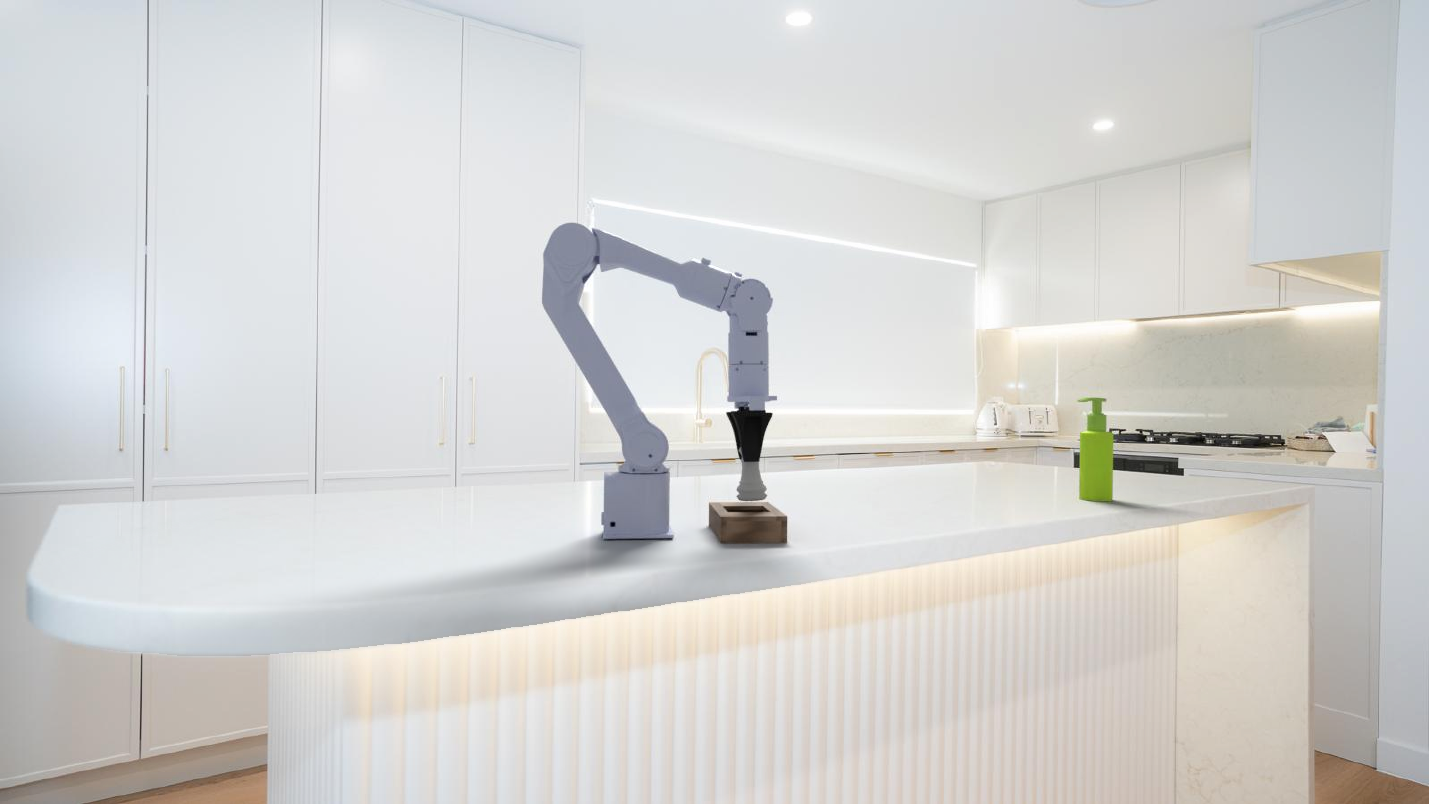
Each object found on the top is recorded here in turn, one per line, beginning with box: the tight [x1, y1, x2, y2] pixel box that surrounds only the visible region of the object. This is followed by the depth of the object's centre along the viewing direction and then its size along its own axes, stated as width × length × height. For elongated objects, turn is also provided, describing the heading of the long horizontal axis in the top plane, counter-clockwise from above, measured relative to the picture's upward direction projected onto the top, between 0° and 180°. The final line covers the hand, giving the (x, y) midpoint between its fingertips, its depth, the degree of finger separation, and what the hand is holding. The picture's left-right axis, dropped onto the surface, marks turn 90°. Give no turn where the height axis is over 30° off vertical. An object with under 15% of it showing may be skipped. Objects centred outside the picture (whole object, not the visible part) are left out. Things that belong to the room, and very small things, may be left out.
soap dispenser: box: [1077, 397, 1114, 502], centre depth 152 cm, size 6×7×20 cm
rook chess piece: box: [735, 447, 768, 502], centre depth 110 cm, size 4×4×8 cm
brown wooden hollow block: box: [708, 501, 788, 544], centre depth 110 cm, size 9×14×4 cm, turn 7°
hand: (749, 460), depth 110 cm, fingers closed on rook chess piece, 3 cm apart
